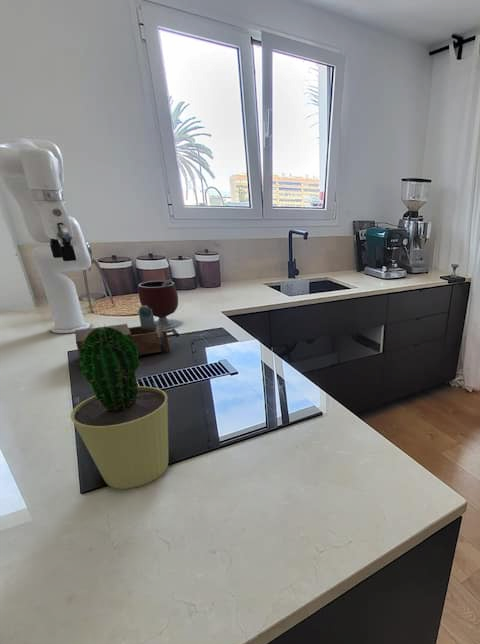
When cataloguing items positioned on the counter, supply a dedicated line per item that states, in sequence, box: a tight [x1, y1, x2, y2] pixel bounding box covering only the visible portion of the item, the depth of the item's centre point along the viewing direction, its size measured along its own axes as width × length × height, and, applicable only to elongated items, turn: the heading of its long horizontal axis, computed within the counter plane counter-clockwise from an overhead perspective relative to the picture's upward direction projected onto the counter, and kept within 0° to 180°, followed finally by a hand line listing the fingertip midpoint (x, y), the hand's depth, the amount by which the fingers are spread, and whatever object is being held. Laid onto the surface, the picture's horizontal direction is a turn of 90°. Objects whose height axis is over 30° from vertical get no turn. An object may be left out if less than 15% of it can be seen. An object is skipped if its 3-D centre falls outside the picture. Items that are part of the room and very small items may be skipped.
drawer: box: [128, 323, 180, 356], centre depth 134 cm, size 18×11×7 cm, turn 124°
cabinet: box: [74, 323, 132, 356], centre depth 127 cm, size 15×13×9 cm
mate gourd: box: [137, 278, 181, 331], centre depth 158 cm, size 16×14×20 cm
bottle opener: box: [137, 305, 163, 348], centre depth 132 cm, size 5×6×14 cm
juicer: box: [82, 241, 115, 313], centre depth 177 cm, size 10×11×30 cm
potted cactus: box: [70, 324, 170, 490], centre depth 72 cm, size 15×15×30 cm
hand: (64, 259), depth 118 cm, fingers open, 9 cm apart
